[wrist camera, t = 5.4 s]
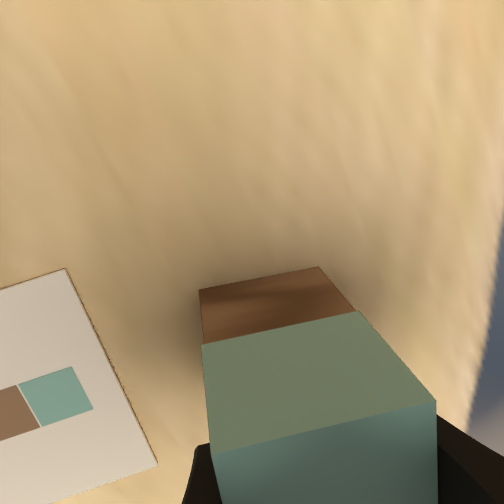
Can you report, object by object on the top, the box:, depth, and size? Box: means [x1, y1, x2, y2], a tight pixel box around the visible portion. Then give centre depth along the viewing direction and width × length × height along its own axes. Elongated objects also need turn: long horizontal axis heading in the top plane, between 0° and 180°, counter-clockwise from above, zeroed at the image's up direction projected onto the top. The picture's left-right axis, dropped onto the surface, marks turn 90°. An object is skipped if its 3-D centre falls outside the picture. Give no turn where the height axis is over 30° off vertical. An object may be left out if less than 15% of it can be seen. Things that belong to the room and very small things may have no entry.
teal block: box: [201, 311, 438, 504], centre depth 13 cm, size 5×5×4 cm
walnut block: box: [199, 267, 356, 344], centre depth 17 cm, size 5×5×4 cm
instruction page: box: [0, 269, 158, 504], centre depth 19 cm, size 7×10×1 cm
